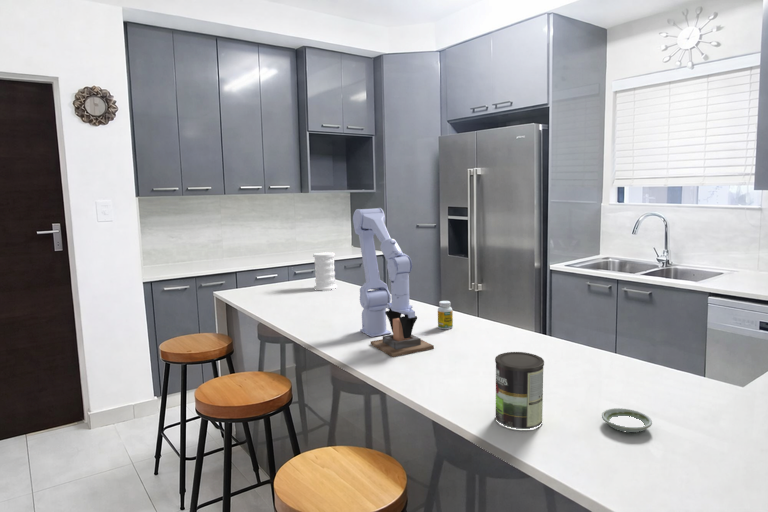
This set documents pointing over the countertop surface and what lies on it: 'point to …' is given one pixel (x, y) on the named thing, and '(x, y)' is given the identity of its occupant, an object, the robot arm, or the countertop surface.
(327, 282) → the decorative container
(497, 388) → the coffee can
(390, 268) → the robot arm
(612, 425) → the grey-green ring
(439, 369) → the countertop surface
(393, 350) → the peg holder
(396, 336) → the peg
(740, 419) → the countertop surface
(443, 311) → the supplement bottle
